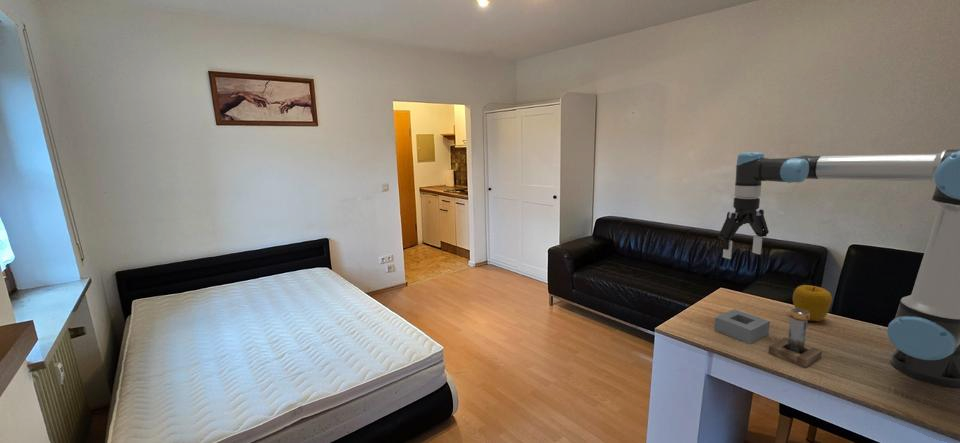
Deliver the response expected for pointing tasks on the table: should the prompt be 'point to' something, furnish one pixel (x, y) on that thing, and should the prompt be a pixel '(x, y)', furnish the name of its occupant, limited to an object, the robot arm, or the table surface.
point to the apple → (812, 301)
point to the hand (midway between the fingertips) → (741, 255)
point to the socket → (742, 326)
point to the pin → (797, 330)
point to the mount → (803, 359)
